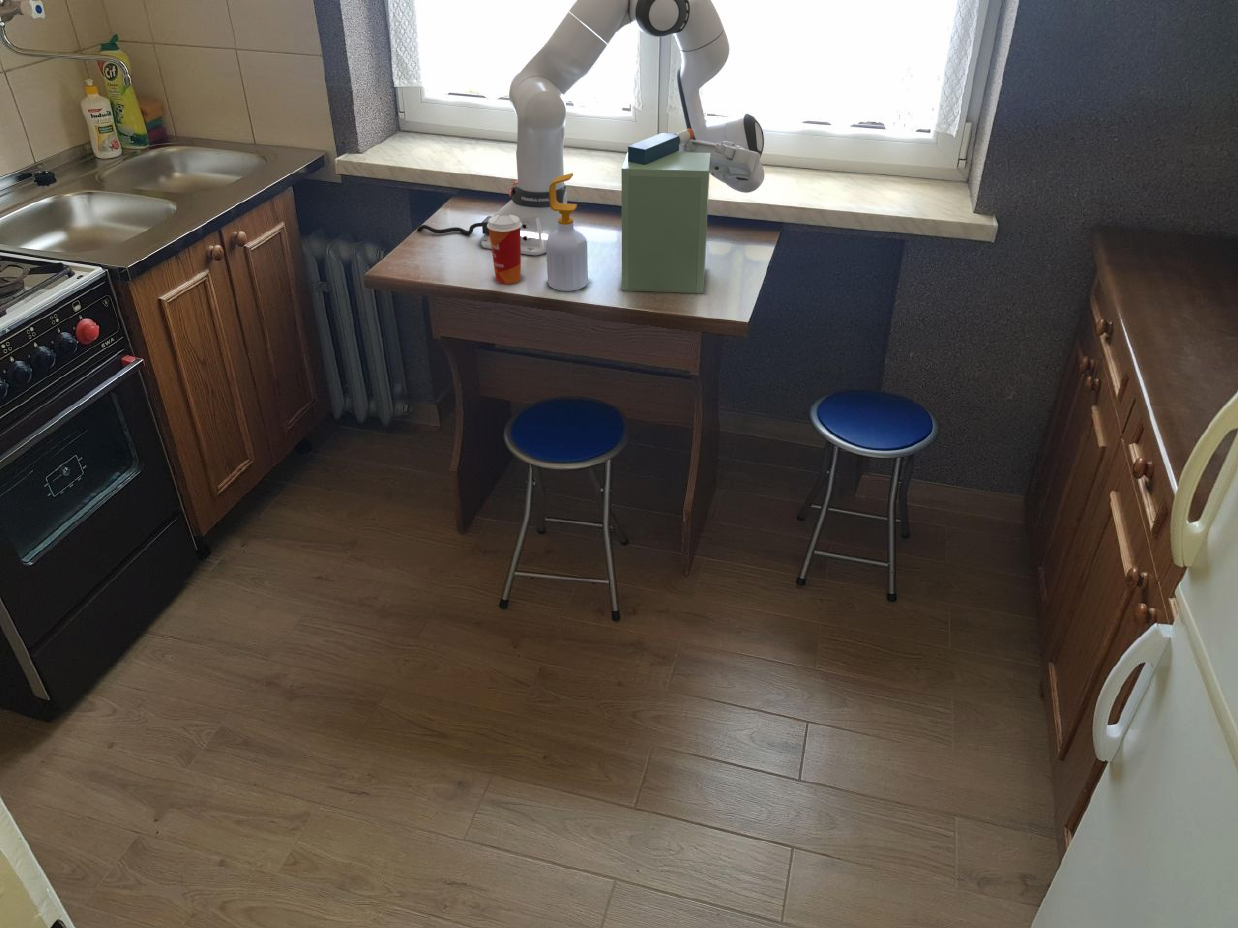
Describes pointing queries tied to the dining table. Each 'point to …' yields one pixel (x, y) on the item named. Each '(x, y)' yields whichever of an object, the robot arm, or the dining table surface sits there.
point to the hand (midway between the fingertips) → (700, 144)
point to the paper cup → (506, 247)
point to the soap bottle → (566, 247)
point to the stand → (665, 223)
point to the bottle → (657, 146)
